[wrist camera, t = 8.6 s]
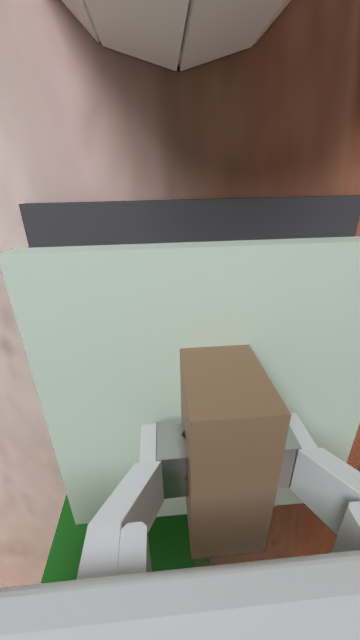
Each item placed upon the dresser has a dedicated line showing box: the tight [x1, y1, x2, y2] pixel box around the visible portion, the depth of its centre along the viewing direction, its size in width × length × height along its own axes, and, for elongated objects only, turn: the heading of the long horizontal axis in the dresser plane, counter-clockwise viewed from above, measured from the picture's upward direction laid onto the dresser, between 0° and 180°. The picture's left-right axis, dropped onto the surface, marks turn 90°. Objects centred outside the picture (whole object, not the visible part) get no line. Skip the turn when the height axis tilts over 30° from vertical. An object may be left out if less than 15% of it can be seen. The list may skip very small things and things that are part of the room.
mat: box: [19, 195, 360, 248], centre depth 16 cm, size 15×15×1 cm
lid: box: [0, 236, 360, 559], centre depth 10 cm, size 13×13×4 cm
